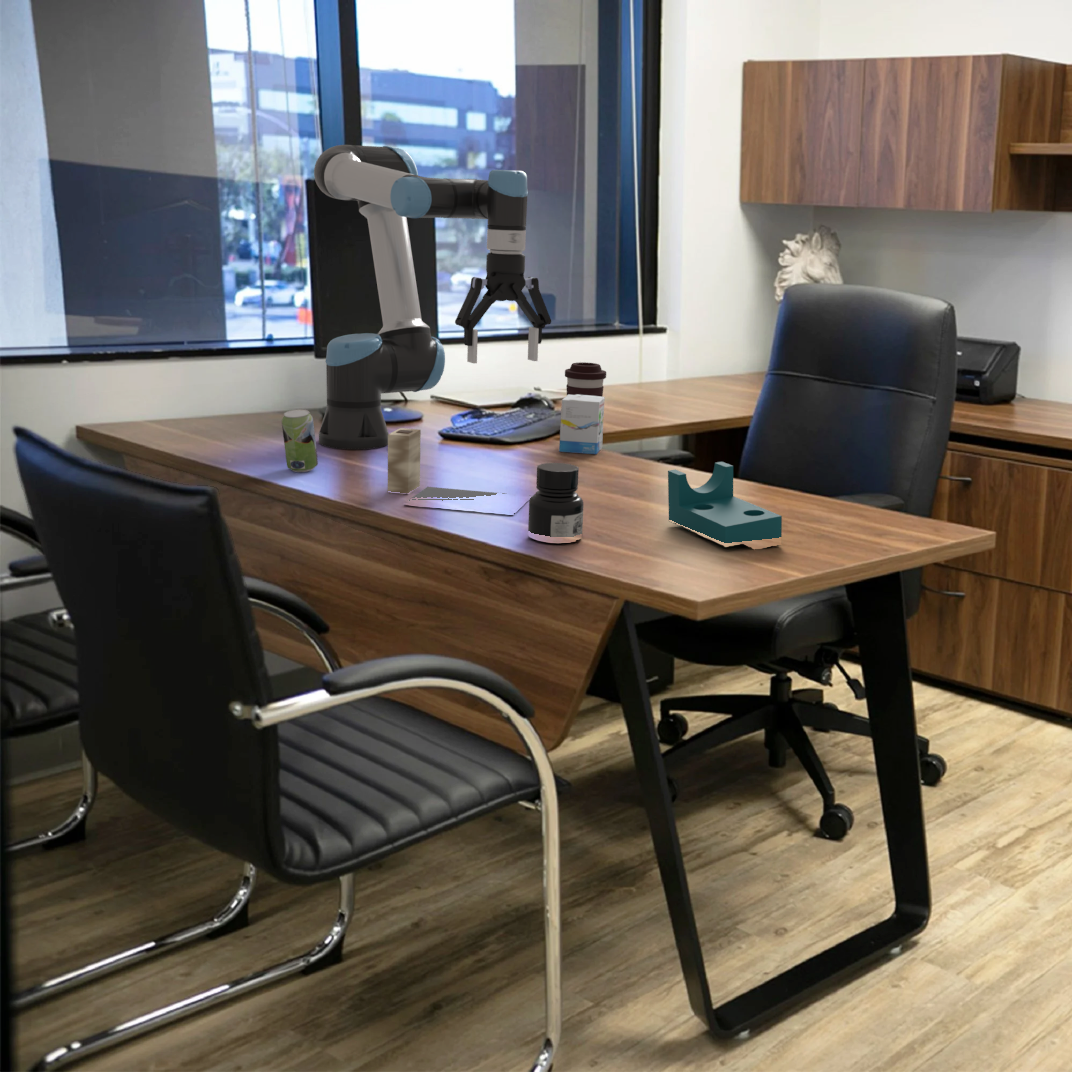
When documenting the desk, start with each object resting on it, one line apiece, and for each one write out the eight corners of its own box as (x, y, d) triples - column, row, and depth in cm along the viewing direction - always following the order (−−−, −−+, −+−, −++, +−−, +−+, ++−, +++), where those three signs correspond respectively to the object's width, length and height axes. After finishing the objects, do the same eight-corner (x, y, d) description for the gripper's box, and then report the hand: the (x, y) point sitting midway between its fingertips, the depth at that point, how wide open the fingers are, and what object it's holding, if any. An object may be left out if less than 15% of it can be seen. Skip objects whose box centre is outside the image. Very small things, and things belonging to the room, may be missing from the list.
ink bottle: (562, 549, 209) (565, 476, 206) (516, 539, 213) (518, 468, 210) (592, 537, 217) (596, 466, 214) (547, 528, 221) (550, 458, 218)
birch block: (387, 493, 242) (387, 433, 239) (399, 485, 249) (400, 427, 246) (408, 494, 241) (408, 435, 238) (419, 486, 248) (420, 428, 245)
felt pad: (404, 506, 233) (404, 503, 233) (427, 489, 246) (427, 486, 246) (513, 515, 229) (513, 513, 228) (531, 498, 242) (531, 495, 242)
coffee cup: (556, 427, 314) (559, 364, 310) (571, 421, 323) (573, 360, 319) (595, 431, 310) (598, 368, 306) (609, 425, 319) (612, 363, 315)
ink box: (596, 455, 283) (599, 401, 280) (558, 452, 285) (560, 399, 282) (602, 447, 291) (605, 395, 288) (565, 444, 293) (567, 393, 290)
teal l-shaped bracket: (668, 529, 226) (667, 470, 223) (722, 519, 231) (721, 461, 228) (725, 556, 211) (725, 494, 208) (781, 545, 215) (782, 484, 212)
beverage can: (323, 469, 260) (323, 409, 257) (305, 476, 253) (304, 414, 250) (295, 465, 262) (294, 406, 258) (276, 472, 255) (275, 411, 252)
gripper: (456, 253, 245) (454, 366, 251) (570, 253, 257) (566, 361, 263) (439, 250, 252) (437, 360, 257) (551, 251, 264) (547, 356, 269)
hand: (502, 361), depth 260 cm, fingers open, 13 cm apart
